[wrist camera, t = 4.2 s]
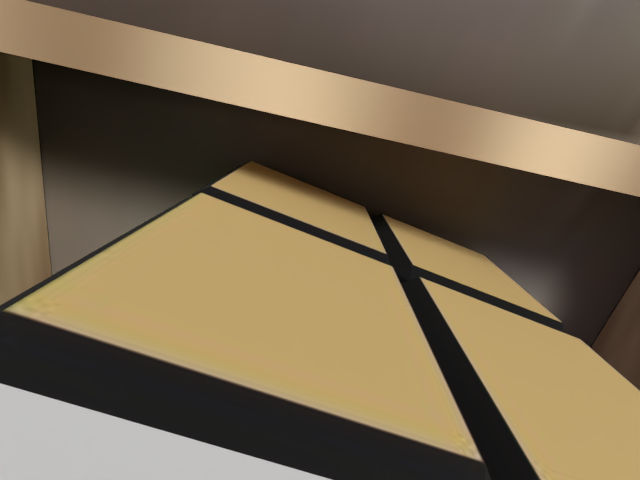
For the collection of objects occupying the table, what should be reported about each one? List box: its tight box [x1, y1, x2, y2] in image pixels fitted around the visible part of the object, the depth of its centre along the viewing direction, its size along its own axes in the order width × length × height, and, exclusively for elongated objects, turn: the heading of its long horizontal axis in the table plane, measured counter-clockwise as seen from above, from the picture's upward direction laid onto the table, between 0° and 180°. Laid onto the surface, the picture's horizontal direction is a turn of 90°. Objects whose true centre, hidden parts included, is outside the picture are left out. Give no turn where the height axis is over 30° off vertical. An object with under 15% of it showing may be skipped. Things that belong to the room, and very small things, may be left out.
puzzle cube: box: [0, 161, 640, 480], centre depth 9 cm, size 10×10×10 cm
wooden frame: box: [0, 0, 640, 390], centre depth 12 cm, size 26×17×5 cm, turn 78°
